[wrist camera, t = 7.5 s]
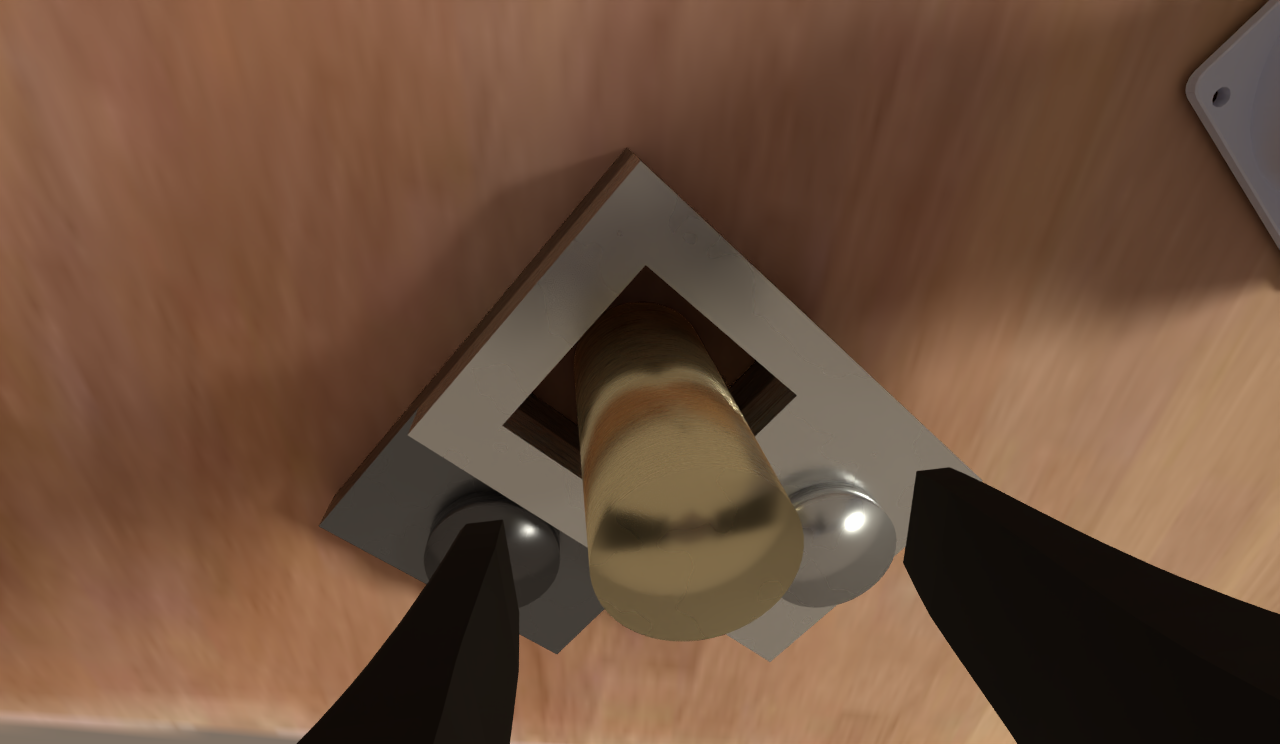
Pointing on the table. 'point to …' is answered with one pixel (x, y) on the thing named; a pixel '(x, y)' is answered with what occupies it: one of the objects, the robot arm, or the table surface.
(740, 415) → the brass pin
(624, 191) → the grey square hole plate
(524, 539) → the black base board
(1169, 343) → the table surface
